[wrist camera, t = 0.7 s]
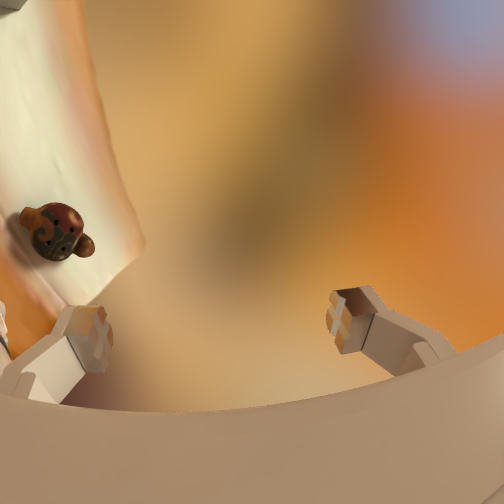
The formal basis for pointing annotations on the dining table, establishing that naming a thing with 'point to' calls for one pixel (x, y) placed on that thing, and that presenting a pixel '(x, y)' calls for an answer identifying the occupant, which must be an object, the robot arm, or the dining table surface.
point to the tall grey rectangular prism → (12, 4)
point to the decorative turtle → (57, 231)
